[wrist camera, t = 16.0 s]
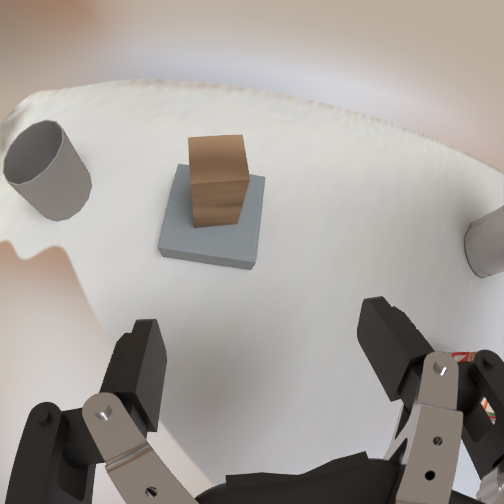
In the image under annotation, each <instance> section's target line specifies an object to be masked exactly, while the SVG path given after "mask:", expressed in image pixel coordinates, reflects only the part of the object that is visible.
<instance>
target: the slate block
mask: <svg viewBox="0 0 504 504" xmlns="http://www.w3.org/2000/svg"><path fill="white" fill-rule="evenodd" d="M249 176H250V182H249V186H248V189H247V193H246V196H245V200H244V203H243V207H242V210H241V214H240V217H239V221H238V224H233V225H221V226H210V227H199V228H194V221H193V209H192V197H191V183H190V166H189V165H183V164H178V167H177V170H176V174H175V178H174V182H173V185H172V189H171V193H170V197H169V201H168V205H167V209H166V214H165V218H164V222H163V226H162V231H161V236H160V240H159V245H158V249H159V250H160V252H161V254H162V256H163V257H168V258H175V259H181V260H187V261H194V262H200V263H207V264H213V265H220V266H227V267H233V268H240V269H247V270H251V269H252V267H253V266H254V264H255V263H256V256H257V248H258V239H259V230H260V221H261V212H262V203H263V194H264V185H265V177H262V176H256V175H251V174H249Z"/></svg>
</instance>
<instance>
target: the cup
mask: <svg viewBox="0 0 504 504" xmlns="http://www.w3.org/2000/svg"><path fill="white" fill-rule="evenodd" d="M3 174H4V176H5V178H6V180H7V182H8V183H9V184H10V185H11V186H12V187H13V188H14V189H15V190H16V191H17V192H18V193H19V194H20V195H22V196H23V197H24V198H25V199H26V200H27V201H28V202H29V203H30V204H31V205H32V206H34V207H35V208H36V209H37V210H38V211H39V212H40V213H41V214H43V215H44V216H45V217H46V218H48V219H51V220H54V221H61V220H66V219H69V218H70V217H72V216H73V215H75V214H76V213H77V212H79V211H80V210H81V208H82V207H83V206H84V204H85V203H86V201H87V200H88V198H89V194H90V191H91V187H92V184H91V178H90V174H89V172H88V171H87V169H86V167H85V166H84V164H83V162H82V161H81V159H80V157H79V156H78V154H77V152H76V151H75V149H74V147H73V145H72V144H71V142H70V140H69V138H68V137H67V135H66V133H65V131H64V130H63V128H62V127H61V126H60V125H59V124H58V123H57V121H50V120H44V121H41V122H38V123H35V124H32V125H31V126H30V127H28V128H27V129H25V130H24V131H23V132H21V133H20V134H19V135H18V137H17V138H16V139H15V140H14V141H13V143H12V144H11V145H10V147H9V149H8V151H7V154H6V156H5V158H4V162H3Z"/></svg>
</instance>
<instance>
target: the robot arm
mask: <svg viewBox="0 0 504 504" xmlns="http://www.w3.org/2000/svg"><path fill="white" fill-rule="evenodd" d="M465 249H466V255H467V258H468V261H469V263H470V266H471V267H472V269H473V271H474V272H475V273H476V274H477V275H478V276H480V277H487V276H491V275H494V274H497V273H500V272H503V271H504V206H502V207H500V208H499V209H497V210H495V211H493V212H491V213H490V214H488V215H486V216H484V217H482V218H480V219H478V220H477V221H475V222H473V223H471V228H470V229H469V230H468V232H467V234H466V237H465ZM357 337H358V341H359V344H360V346H361V347H362V349H363V351H364V353H365V355H366V356H367V358H368V360H369V362H370V364H371V365H372V367H373V369H374V371H375V373H376V375H377V377H378V378H379V380H380V382H381V384H382V386H383V388H384V390H385V392H386V394H387V395H388V397H389V399H390V401H391V402H392V401H395V400H398V399H402V401H403V404H402V406H401V409H400V413H399V417H398V420H397V424H396V427H395V431H394V434H393V437H392V440H391V443H390V446H389V448H388V450H387V452H386V454H385V456H384V458H383V459H374V458H369V459H368V457H367V454H366V451H364V452H361V453H357V454H354V455H350V456H347V457H343V458H339V459H335V460H332V461H330V462H328V463H326V464H324V465H322V466H320V467H317V468H315V469H313V470H311V471H308V472H306V473H304V474H300V475H289V474H274V473H263V472H261V473H251V474H238V475H226V483H223V484H220V485H217V486H215V487H212V488H210V489H208V490H206V491H204V492H203V493H201V494H200V495H198V496H197V497H196V498H193V497H192V496H191V495H190V494H189V492H188V491H187V490H186V489H185V488H184V487H183V486H182V484H181V483H180V482H179V481H178V480H177V479H176V477H175V476H174V475H173V474H172V473H171V471H170V470H169V469H168V468H167V467H166V465H165V464H164V463H163V461H162V460H161V459H160V458H159V456H158V455H157V454H156V452H155V451H154V450H153V448H152V447H151V446H150V445H149V443H148V442H147V440H146V438H147V432H157V428H158V420H159V412H160V405H161V397H162V390H163V384H164V377H165V370H166V364H167V355H166V349H165V345H164V342H163V339H162V335H161V332H160V329H159V325H158V322H157V320H156V319H141V320H136V322H135V324H134V327H133V330H132V333H125V334H124V335H123V336H122V337H121V338H120V339H119V340H118V341H117V343H116V346H115V348H114V351H113V354H112V357H111V359H110V363H109V365H108V368H107V371H106V374H105V377H104V380H103V383H102V386H101V389H100V392H99V393H98V394H95V395H93V396H91V397H90V398H89V399H88V400H87V401H86V402H85V403H84V406H83V407H82V408H78V409H72V410H67V411H61V410H60V409H59V407H58V406H57V405H55V404H54V403H51V402H43V403H40V404H38V405H36V406H35V407H34V408H33V409H32V410H31V412H30V414H29V416H28V419H27V422H26V425H25V428H24V431H23V434H22V437H21V440H20V443H19V447H18V450H17V454H16V457H15V461H14V465H13V468H12V472H11V477H10V481H9V486H8V490H7V495H6V501H5V504H92V494H93V485H94V476H95V468H96V464H98V463H104V462H106V466H105V469H106V471H107V473H108V475H109V477H110V478H111V480H112V482H113V483H114V485H115V487H116V488H117V490H118V491H119V493H120V495H121V496H122V498H123V499H124V501H125V502H126V504H504V362H503V361H502V360H501V358H500V357H499V356H498V355H497V354H496V353H494V352H492V351H490V350H480V351H478V352H477V353H476V355H475V357H474V358H473V360H472V361H465V362H456V360H455V359H454V358H453V357H452V356H450V355H449V354H447V353H444V352H435V351H434V350H433V348H432V347H431V346H430V344H429V343H428V342H427V341H426V339H425V338H424V337H423V335H422V334H421V333H420V332H419V330H418V329H416V327H415V325H414V324H413V323H411V320H410V319H409V318H408V317H407V315H406V314H405V313H404V312H402V311H401V310H399V309H398V308H396V307H395V306H393V307H391V306H390V304H389V303H388V302H387V301H386V299H385V298H384V297H382V296H380V297H374V298H367V299H364V300H363V303H362V308H361V313H360V318H359V323H358V327H357ZM484 397H485V398H486V400H487V402H488V403H489V405H490V406H491V408H492V410H493V411H494V413H495V417H496V420H495V424H494V425H493V423H492V421H491V419H490V418H489V416H488V414H487V413H486V411H485V409H484V408H483V406H482V404H481V402H482V400H483V399H484ZM461 439H462V441H463V443H464V445H465V447H466V449H467V451H468V453H469V455H470V457H471V460H472V462H473V464H474V466H475V468H476V471H477V473H478V475H479V478H480V480H481V483H480V490H478V492H477V494H476V498H477V500H476V499H473V498H471V497H468V496H466V495H463V494H461V493H459V492H456V491H454V490H452V486H453V481H454V476H455V471H456V466H457V461H458V455H459V448H460V441H461Z"/></svg>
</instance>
